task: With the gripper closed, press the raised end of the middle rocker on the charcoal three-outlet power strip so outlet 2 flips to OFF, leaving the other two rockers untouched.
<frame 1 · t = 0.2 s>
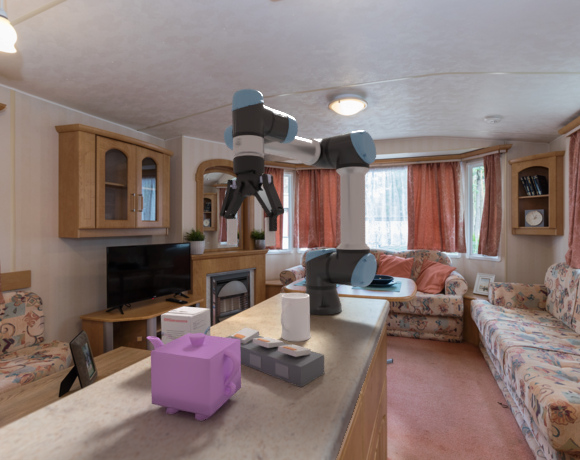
hand: (250, 245, 80), 27 cm above the counter, fingers open, 13 cm apart
rocker 1: (245, 334, 82), point 5 cm above the counter, hinge at 11.0°
mug: (292, 338, 94), on the counter
rocker 2: (268, 341, 77), point 5 cm above the counter, hinge at -11.0°
teapot: (191, 403, 60), on the counter
power strip: (268, 363, 77), on the counter
rocker 3: (294, 349, 72), point 5 cm above the counter, hinge at -11.0°
ink box: (187, 358, 81), on the counter
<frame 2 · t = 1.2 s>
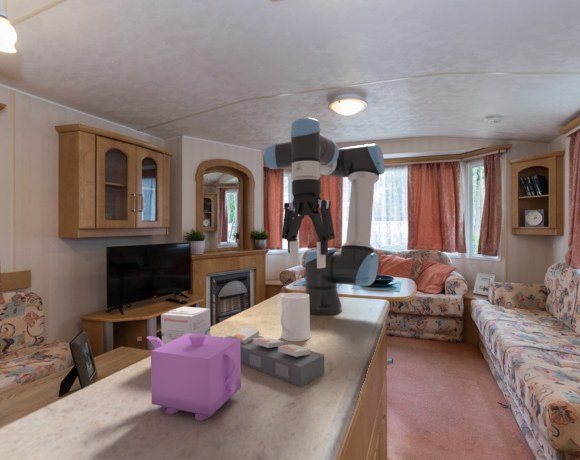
hand: (307, 266, 87), 21 cm above the counter, fingers open, 8 cm apart
nothing on the counter moved.
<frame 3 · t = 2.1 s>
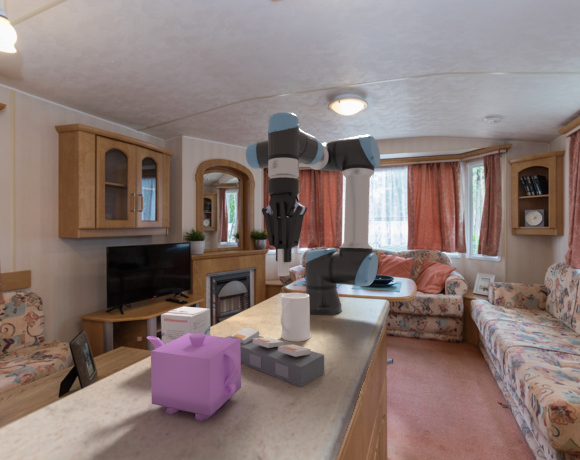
hand: (283, 275, 80), 20 cm above the counter, fingers closed
nothing on the counter moved.
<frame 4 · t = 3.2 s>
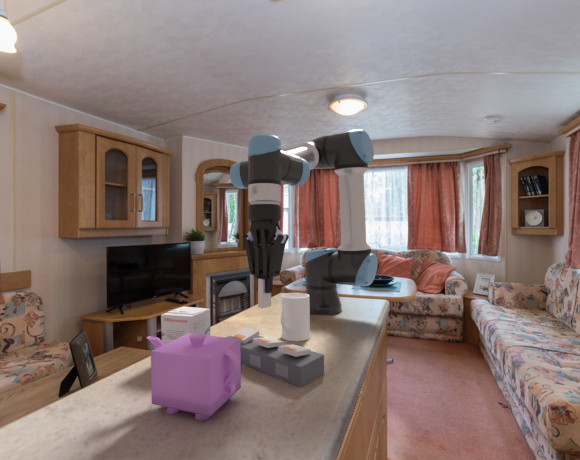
hand: (264, 306, 76), 13 cm above the counter, fingers closed
nothing on the counter moved.
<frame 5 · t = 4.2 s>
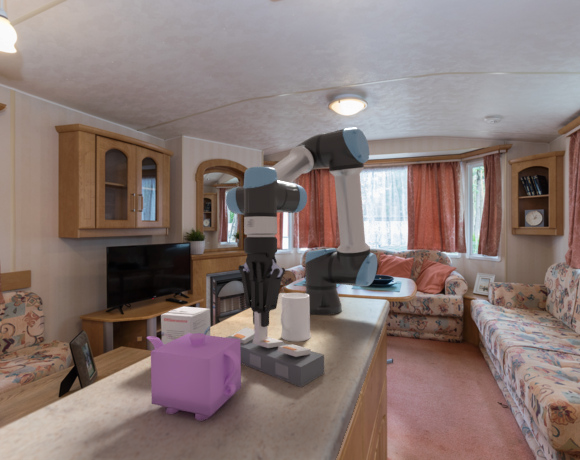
hand: (261, 339, 75), 6 cm above the counter, fingers closed
rocker 2: (268, 341, 77), point 5 cm above the counter, hinge at -9.8°, touching gripper
everything else where it was.
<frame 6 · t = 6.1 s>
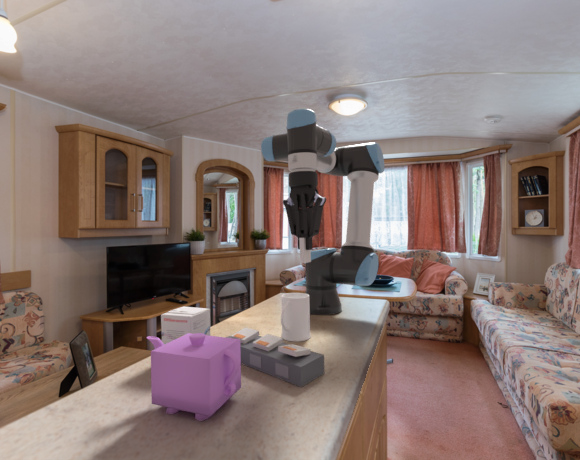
hand: (305, 262, 87), 22 cm above the counter, fingers closed
rocker 2: (268, 341, 77), point 5 cm above the counter, hinge at 8.4°
everything else where it was.
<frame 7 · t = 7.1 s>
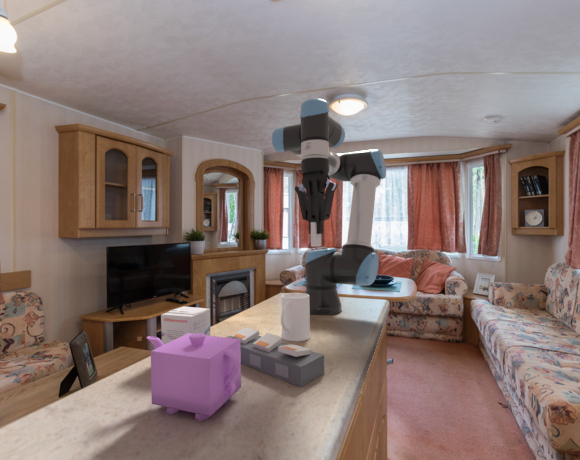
hand: (316, 246, 90), 26 cm above the counter, fingers closed
rocker 2: (268, 341, 77), point 5 cm above the counter, hinge at 14.4°, touching power strip
everything else where it was.
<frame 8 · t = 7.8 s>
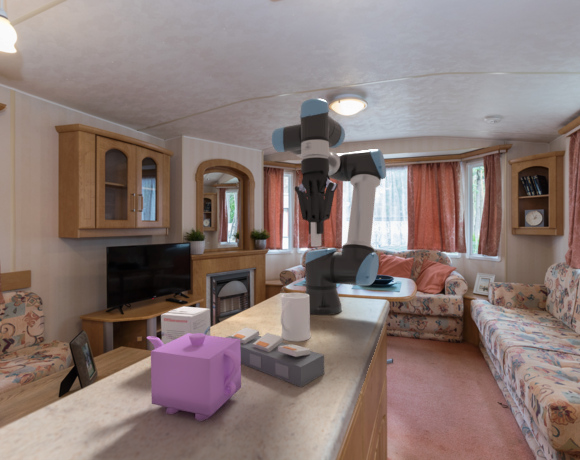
hand: (316, 246, 90), 26 cm above the counter, fingers closed
rocker 2: (268, 341, 77), point 5 cm above the counter, hinge at 15.5°, touching power strip
everything else where it was.
at the end: rocker 2 at +15° (first picture: -11°); rocker 1 at +11° (first picture: +11°); rocker 3 at -11° (first picture: -11°) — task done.
